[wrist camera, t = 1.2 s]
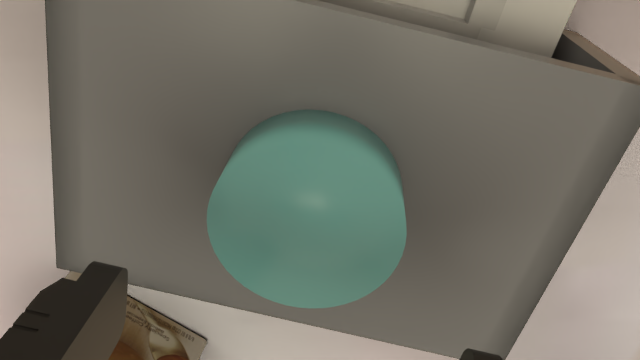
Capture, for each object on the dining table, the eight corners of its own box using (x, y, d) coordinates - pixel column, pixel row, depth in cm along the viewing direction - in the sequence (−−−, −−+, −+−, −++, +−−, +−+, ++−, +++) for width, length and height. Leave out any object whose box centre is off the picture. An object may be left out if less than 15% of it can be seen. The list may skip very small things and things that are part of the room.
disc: (238, 89, 16) (219, 119, 14) (426, 134, 16) (434, 170, 14) (216, 242, 19) (196, 284, 17) (374, 278, 19) (375, 325, 17)
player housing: (139, -77, 21) (42, -62, 14) (577, 32, 21) (660, 90, 15) (129, 180, 26) (56, 267, 20) (471, 260, 27) (500, 368, 21)
